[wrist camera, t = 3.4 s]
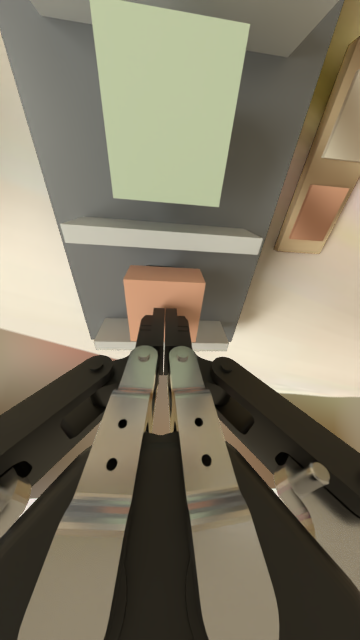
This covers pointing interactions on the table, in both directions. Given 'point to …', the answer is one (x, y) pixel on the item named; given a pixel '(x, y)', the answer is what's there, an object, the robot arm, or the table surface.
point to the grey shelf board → (159, 217)
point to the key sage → (167, 99)
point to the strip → (327, 165)
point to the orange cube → (163, 294)
